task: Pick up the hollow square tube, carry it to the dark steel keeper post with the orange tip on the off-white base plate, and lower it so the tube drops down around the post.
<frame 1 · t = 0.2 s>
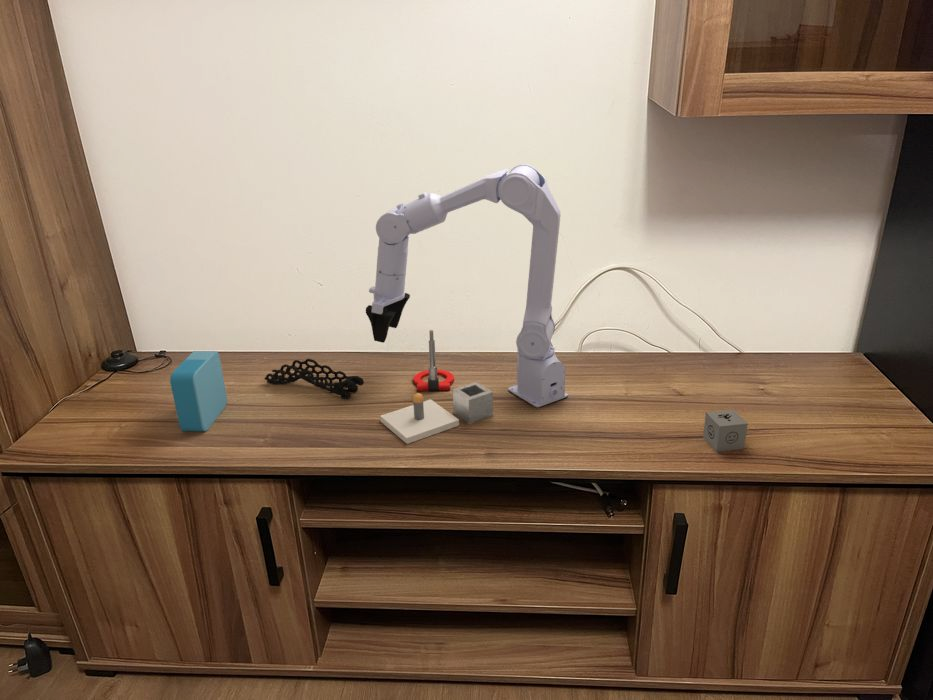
hand: (385, 333, 146), 11 cm above the tv stand top, tool pointing down, fingers open, 7 cm apart
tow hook: (433, 383, 149), on the tv stand top
decorative element: (315, 391, 147), on the tv stand top
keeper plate: (419, 423, 133), on the tv stand top
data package: (205, 419, 137), on the tv stand top
hollow square tube: (473, 414, 136), on the tv stand top
dice cube: (722, 444, 124), on the tv stand top
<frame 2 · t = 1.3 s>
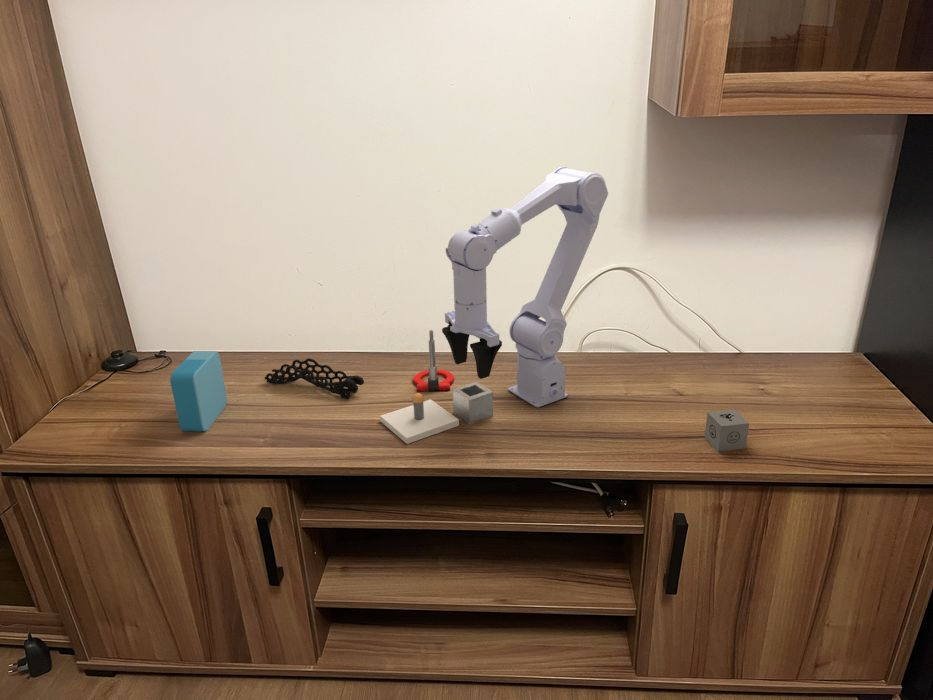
hand: (472, 369, 132), 9 cm above the tv stand top, tool pointing down, fingers open, 7 cm apart
nothing on the tv stand top moved.
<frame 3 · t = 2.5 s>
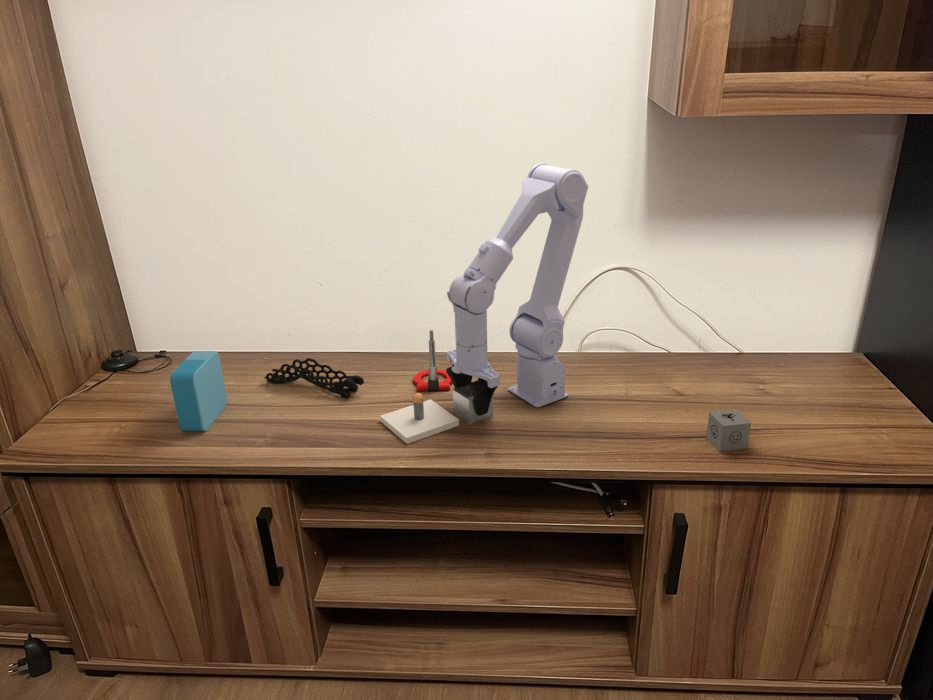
hand: (473, 407, 135), 1 cm above the tv stand top, tool pointing down, fingers closed on hollow square tube, 5 cm apart
hollow square tube: (473, 414, 136), on the tv stand top, touching gripper
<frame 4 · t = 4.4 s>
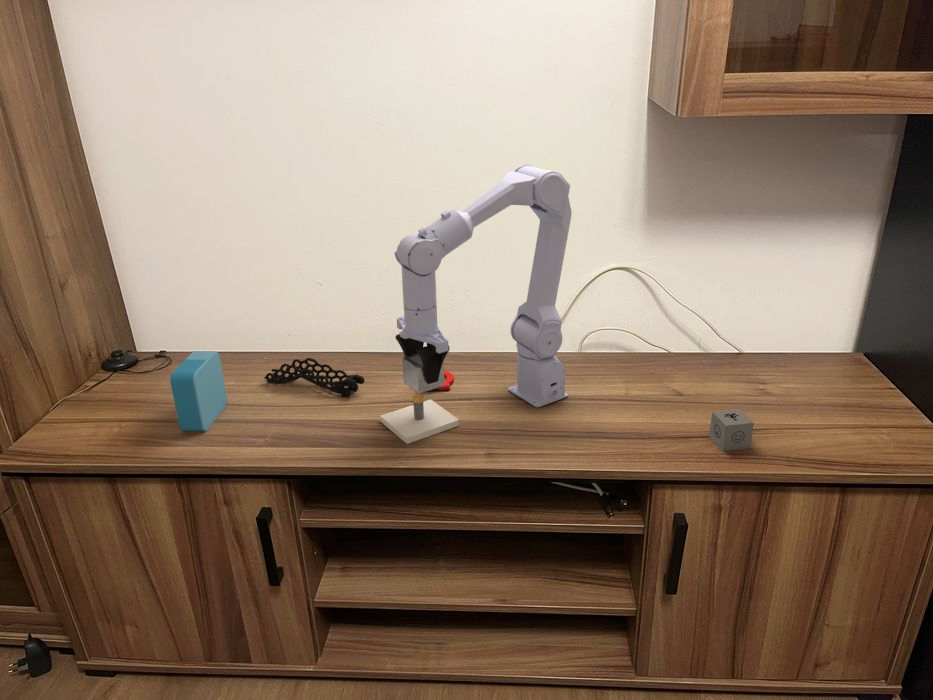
hand: (423, 376, 130), 10 cm above the tv stand top, tool pointing down, fingers closed on hollow square tube, 5 cm apart
hollow square tube: (424, 384, 130), point 8 cm above the tv stand top, touching gripper
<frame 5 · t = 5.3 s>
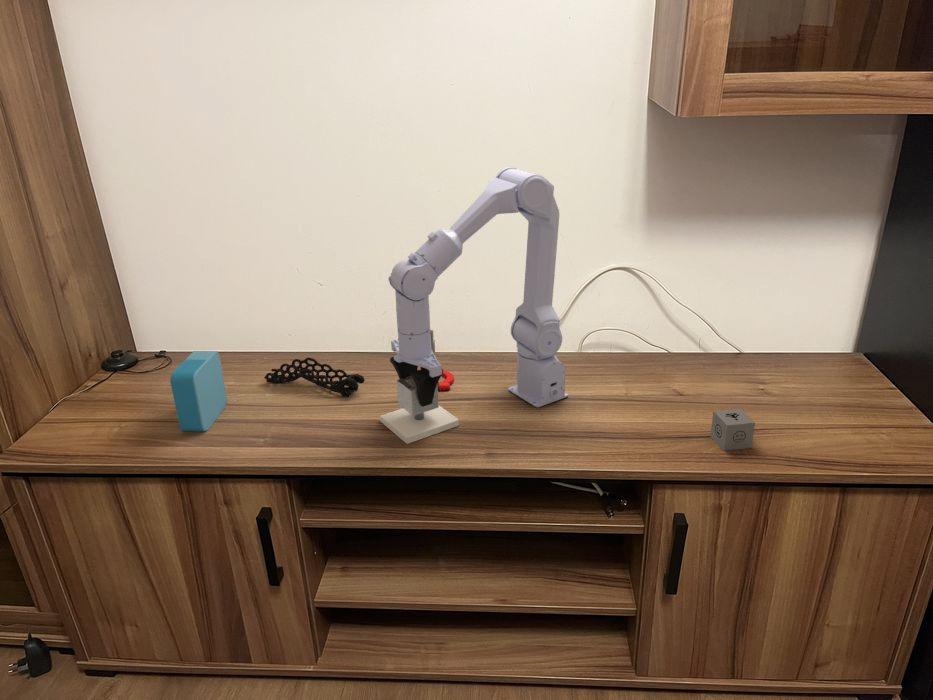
hand: (417, 398, 131), 5 cm above the tv stand top, tool pointing down, fingers closed on hollow square tube, 5 cm apart
hollow square tube: (418, 406, 132), point 4 cm above the tv stand top, touching gripper
when the fingers open (4 cm above the tv stand top, at t = 6.1 s): hollow square tube drops 1 cm, resting on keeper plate.
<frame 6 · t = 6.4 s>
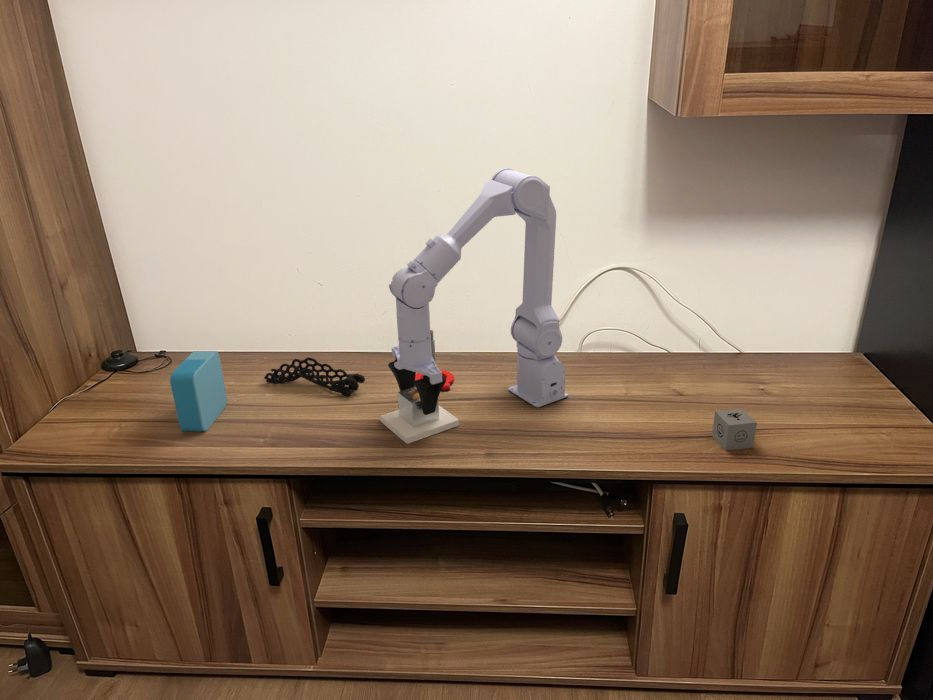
hand: (418, 404, 131), 4 cm above the tv stand top, tool pointing down, fingers open, 7 cm apart
hollow square tube: (419, 417, 133), point 1 cm above the tv stand top, touching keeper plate
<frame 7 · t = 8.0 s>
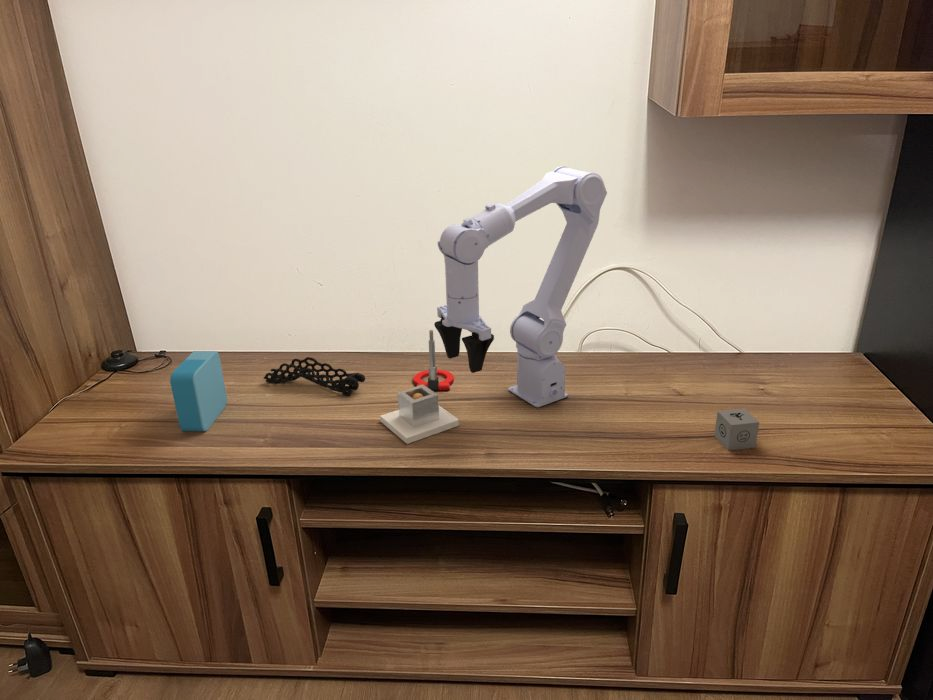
hand: (464, 363, 132), 10 cm above the tv stand top, tool pointing down, fingers open, 7 cm apart
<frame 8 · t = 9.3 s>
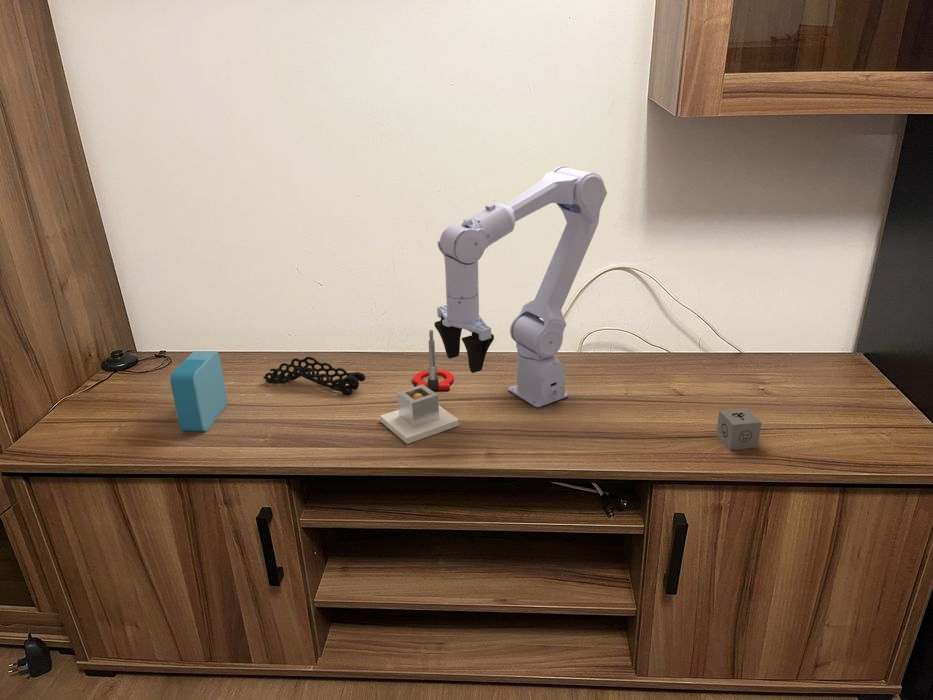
hand: (464, 363, 132), 10 cm above the tv stand top, tool pointing down, fingers open, 7 cm apart
at the end: hollow square tube 0.0 cm off-centre on the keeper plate, point 1.2 cm above the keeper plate's base; hollow square tube tilted 0°; the gripper is holding nothing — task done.
